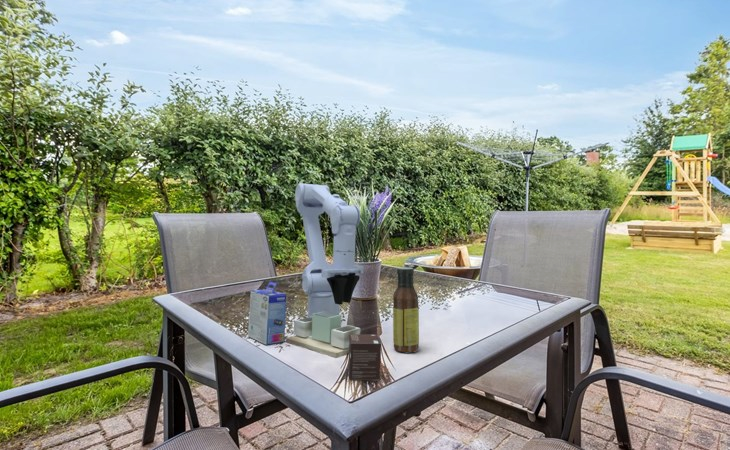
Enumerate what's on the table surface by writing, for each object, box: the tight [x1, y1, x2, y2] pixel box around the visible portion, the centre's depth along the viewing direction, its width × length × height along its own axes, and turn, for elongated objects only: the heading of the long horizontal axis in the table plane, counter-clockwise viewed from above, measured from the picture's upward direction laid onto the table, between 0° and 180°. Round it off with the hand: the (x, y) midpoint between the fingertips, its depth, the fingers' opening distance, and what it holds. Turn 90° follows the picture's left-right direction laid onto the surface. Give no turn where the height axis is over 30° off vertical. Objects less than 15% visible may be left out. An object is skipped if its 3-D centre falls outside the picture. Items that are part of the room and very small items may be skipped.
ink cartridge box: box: [247, 281, 287, 346], centre depth 97 cm, size 10×6×14 cm, turn 44°
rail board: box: [285, 317, 361, 359], centre depth 95 cm, size 11×17×5 cm, turn 52°
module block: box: [312, 311, 342, 343], centre depth 95 cm, size 4×6×6 cm, turn 52°
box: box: [347, 333, 382, 382], centre depth 76 cm, size 6×6×7 cm
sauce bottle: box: [392, 266, 420, 353], centre depth 92 cm, size 7×6×20 cm
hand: (342, 303), depth 99 cm, fingers open, 3 cm apart
